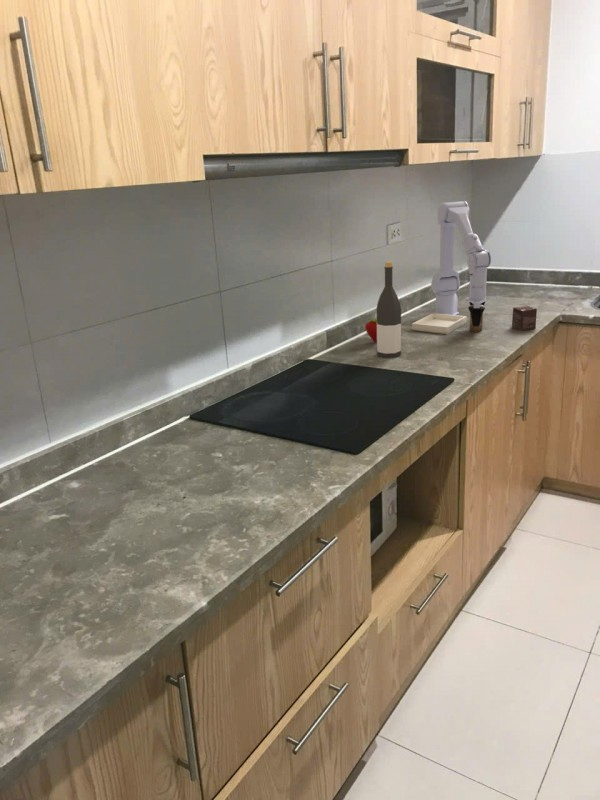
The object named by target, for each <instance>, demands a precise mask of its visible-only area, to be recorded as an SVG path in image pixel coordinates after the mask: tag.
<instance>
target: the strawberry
mask: <svg viewBox="0 0 600 800" xmlns="http://www.w3.org/2000/svg"><path fill="white" fill-rule="evenodd" d="M368 320H369V321H368V322H367V323H365V326H364V327H365V331H366V333H367V334H368V336H369V338H371V340H372V342H373V343H376V344H377V318H376V319H375V318H371V319H368Z"/></svg>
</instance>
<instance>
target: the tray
mask: <svg viewBox="0 0 600 800" xmlns="http://www.w3.org/2000/svg"><path fill="white" fill-rule="evenodd" d="M467 323H468V316H466V315H459V314H457V315H448V314H437V313H436V312H432V313H430V314H428V315H426V316H424V317H422V318H419V319H418V320H417V321H414V322H412V323H411V331H418V332H425V333H432V334H433V333H434V334H442V335H443V334H444V335H448V334H450V333H452V332H453V331H455V330H457V329H459V328H461V327H463V326H464V325H466V324H467Z"/></svg>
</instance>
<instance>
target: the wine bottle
mask: <svg viewBox="0 0 600 800" xmlns="http://www.w3.org/2000/svg"><path fill="white" fill-rule="evenodd" d="M384 264H385V265H384V287H383V289H382V291H381V293H380V295H379V298H378V301H377V304H376V320H377V343H376V352H377V357H379V358H384V359H394V358H397V357H400V356H401V355H402V307H401V301H400V300H399V298H398V297H399V296H398V295H397V293H396V291H395V289H394V286H393V269H394V267H393V262H392V261H385V263H384Z"/></svg>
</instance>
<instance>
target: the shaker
mask: <svg viewBox="0 0 600 800" xmlns="http://www.w3.org/2000/svg"><path fill="white" fill-rule="evenodd" d="M469 306H474V305H470V304H469ZM480 307H485V305H484V306H483V305H480ZM483 319H484V312H483V313H482V316H481V321H480V325H479V327H478V326H473V324H472V317H471V313H470V312H469V331H470V332H473V333H479V332H482V331H483Z"/></svg>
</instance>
